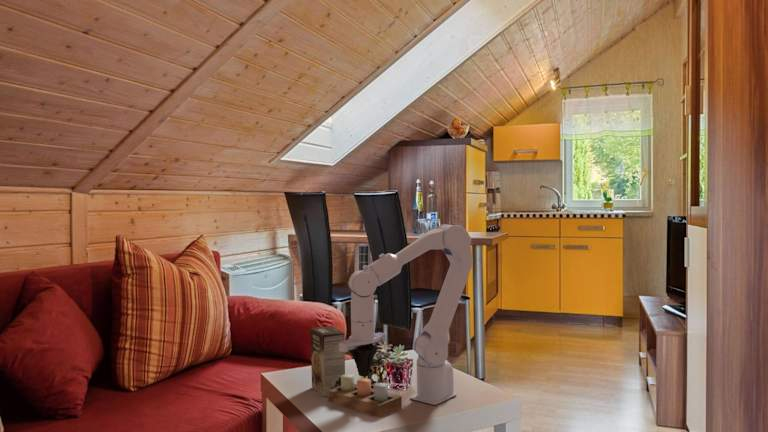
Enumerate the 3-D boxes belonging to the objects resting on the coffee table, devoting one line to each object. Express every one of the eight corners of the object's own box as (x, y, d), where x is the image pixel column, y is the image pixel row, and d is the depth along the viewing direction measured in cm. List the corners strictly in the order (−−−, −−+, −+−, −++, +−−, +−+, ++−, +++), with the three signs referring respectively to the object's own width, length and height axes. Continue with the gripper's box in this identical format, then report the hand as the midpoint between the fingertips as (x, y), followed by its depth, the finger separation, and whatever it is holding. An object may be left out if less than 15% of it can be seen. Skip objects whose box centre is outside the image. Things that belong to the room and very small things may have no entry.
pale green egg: (347, 388, 150) (347, 373, 150) (357, 391, 148) (357, 375, 147) (338, 392, 147) (338, 376, 147) (347, 395, 145) (347, 379, 145)
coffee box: (310, 387, 158) (309, 327, 157) (333, 383, 161) (331, 325, 160) (323, 397, 150) (322, 334, 149) (346, 393, 153) (345, 331, 152)
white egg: (380, 398, 142) (380, 381, 142) (391, 401, 140) (390, 384, 140) (371, 402, 140) (370, 385, 140) (381, 405, 138) (381, 388, 137)
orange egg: (363, 393, 146) (363, 377, 146) (373, 396, 144) (373, 380, 144) (354, 397, 144) (354, 380, 143) (364, 400, 141) (364, 383, 141)
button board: (328, 401, 146) (328, 390, 146) (350, 393, 152) (350, 382, 152) (379, 417, 135) (379, 405, 135) (401, 408, 141) (401, 396, 141)
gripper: (370, 313, 151) (371, 366, 152) (329, 323, 140) (330, 379, 141) (391, 317, 147) (392, 371, 147) (350, 327, 136) (351, 385, 136)
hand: (363, 375), depth 144 cm, fingers closed
